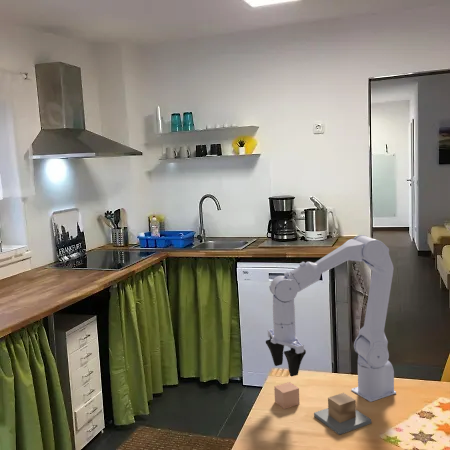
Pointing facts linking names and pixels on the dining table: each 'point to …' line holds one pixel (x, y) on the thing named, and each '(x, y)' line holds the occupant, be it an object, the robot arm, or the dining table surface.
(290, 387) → the pinkish tan block
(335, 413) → the walnut brick
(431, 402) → the dining table surface
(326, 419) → the base plate
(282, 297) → the robot arm
